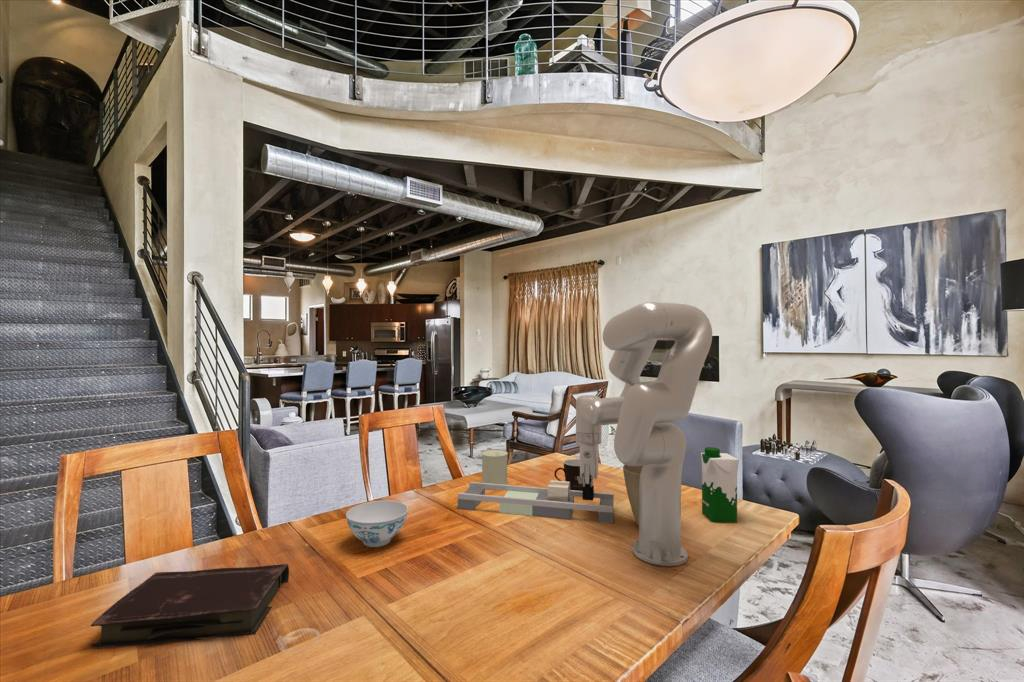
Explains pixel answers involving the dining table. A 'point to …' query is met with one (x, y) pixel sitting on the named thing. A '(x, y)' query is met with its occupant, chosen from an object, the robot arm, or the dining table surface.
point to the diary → (192, 606)
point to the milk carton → (719, 485)
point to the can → (494, 467)
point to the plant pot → (633, 487)
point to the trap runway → (534, 501)
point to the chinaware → (376, 521)
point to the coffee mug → (572, 474)
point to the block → (559, 491)
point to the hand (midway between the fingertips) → (588, 499)
